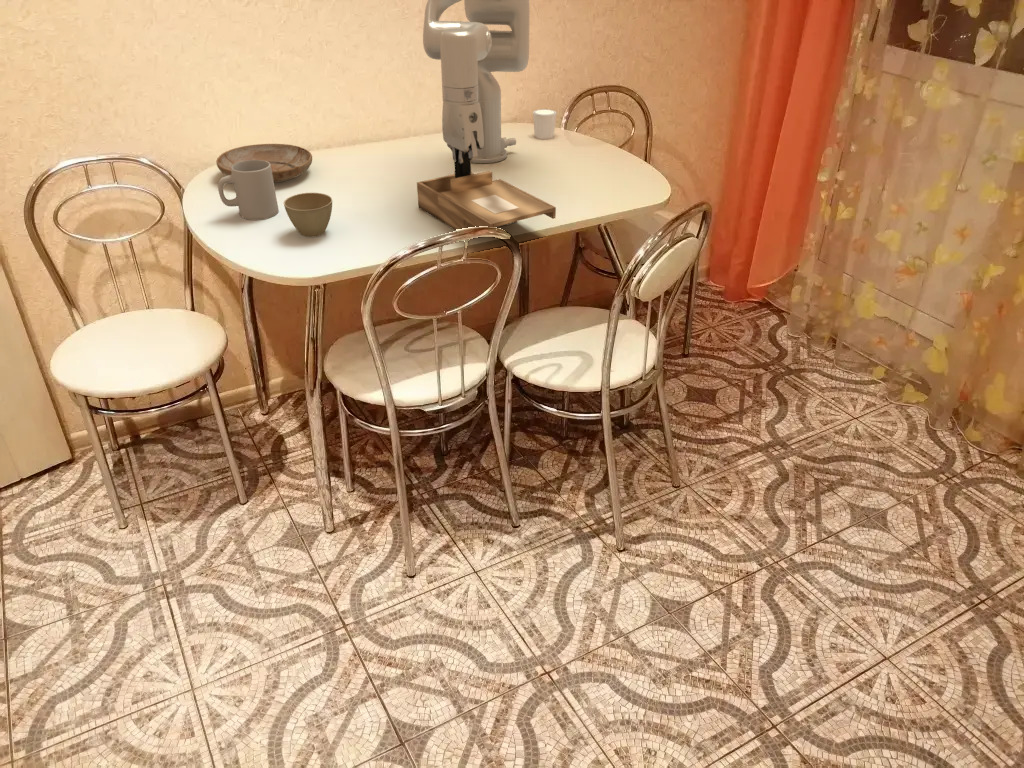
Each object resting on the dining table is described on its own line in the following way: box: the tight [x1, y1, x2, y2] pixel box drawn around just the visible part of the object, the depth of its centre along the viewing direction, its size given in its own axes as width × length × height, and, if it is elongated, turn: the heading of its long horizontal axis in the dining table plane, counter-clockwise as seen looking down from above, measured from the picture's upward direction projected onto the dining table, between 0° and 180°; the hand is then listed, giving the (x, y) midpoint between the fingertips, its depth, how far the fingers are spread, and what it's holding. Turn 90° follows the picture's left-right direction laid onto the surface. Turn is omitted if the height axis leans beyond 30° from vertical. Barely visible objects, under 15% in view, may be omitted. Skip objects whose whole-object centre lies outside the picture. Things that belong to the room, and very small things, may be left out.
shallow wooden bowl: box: [215, 143, 313, 184], centre depth 196 cm, size 23×24×5 cm
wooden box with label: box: [438, 170, 557, 228], centre depth 163 cm, size 16×21×5 cm
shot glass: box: [532, 108, 558, 140], centre depth 224 cm, size 7×7×7 cm
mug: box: [217, 160, 279, 221], centre depth 172 cm, size 12×8×11 cm
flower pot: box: [283, 192, 333, 238], centre depth 165 cm, size 10×10×7 cm
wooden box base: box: [416, 171, 519, 231], centre depth 174 cm, size 14×20×6 cm
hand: (463, 178), depth 172 cm, fingers closed
